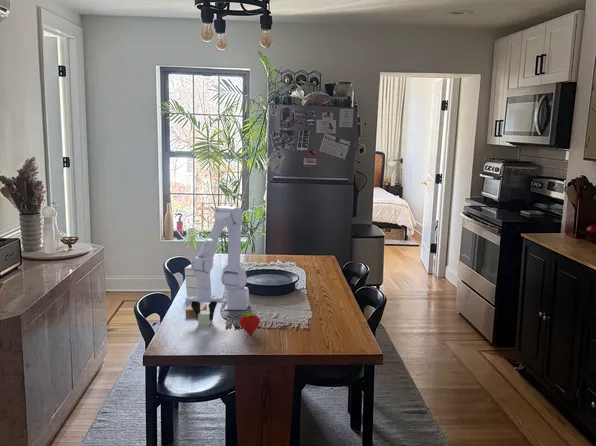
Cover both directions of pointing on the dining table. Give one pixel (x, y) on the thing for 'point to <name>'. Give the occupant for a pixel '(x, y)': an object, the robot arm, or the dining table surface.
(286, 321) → the dining table surface
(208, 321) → the green cube
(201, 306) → the block
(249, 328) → the strawberry
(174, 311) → the dining table surface
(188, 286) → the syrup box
